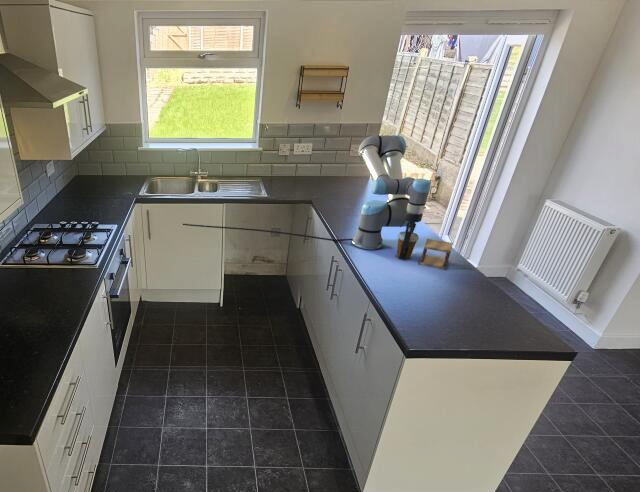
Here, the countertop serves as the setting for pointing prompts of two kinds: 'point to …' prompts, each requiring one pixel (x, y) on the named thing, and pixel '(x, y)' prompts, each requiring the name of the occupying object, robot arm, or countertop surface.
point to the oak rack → (434, 260)
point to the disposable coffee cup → (410, 246)
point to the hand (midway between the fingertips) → (403, 255)
